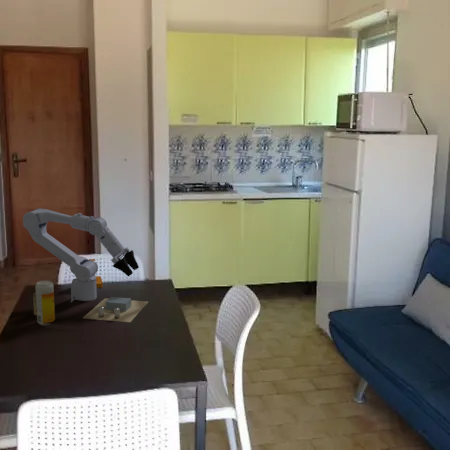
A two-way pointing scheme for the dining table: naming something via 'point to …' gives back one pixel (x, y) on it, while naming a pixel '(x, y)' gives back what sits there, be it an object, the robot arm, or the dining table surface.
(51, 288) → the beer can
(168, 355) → the dining table surface
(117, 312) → the bench dogs
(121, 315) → the board
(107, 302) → the bevelled grey block
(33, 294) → the lighter
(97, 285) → the bracket
